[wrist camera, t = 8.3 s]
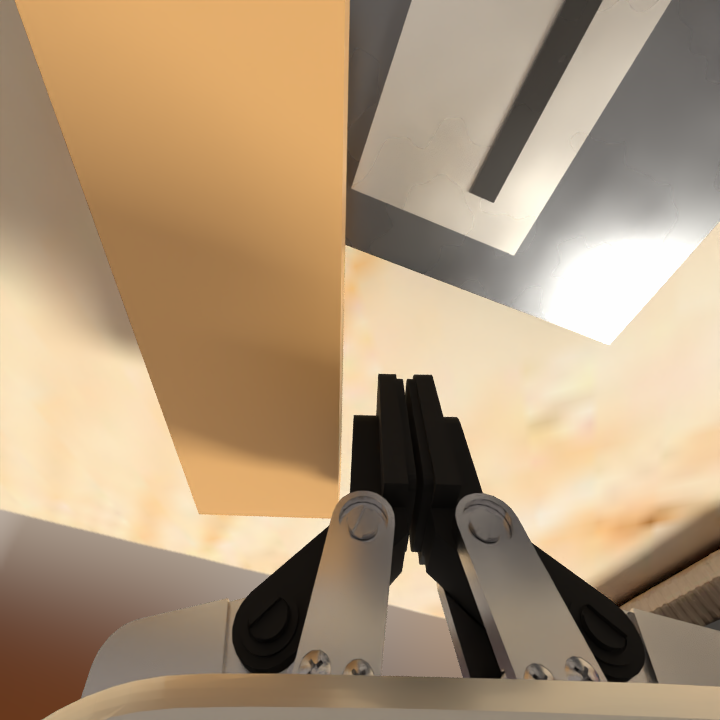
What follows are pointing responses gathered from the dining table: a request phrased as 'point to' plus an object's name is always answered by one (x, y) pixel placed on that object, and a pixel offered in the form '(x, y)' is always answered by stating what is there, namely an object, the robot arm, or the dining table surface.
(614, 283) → the grey flat block
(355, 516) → the robot arm
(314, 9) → the swing arm
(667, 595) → the black sponge
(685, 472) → the dining table surface
